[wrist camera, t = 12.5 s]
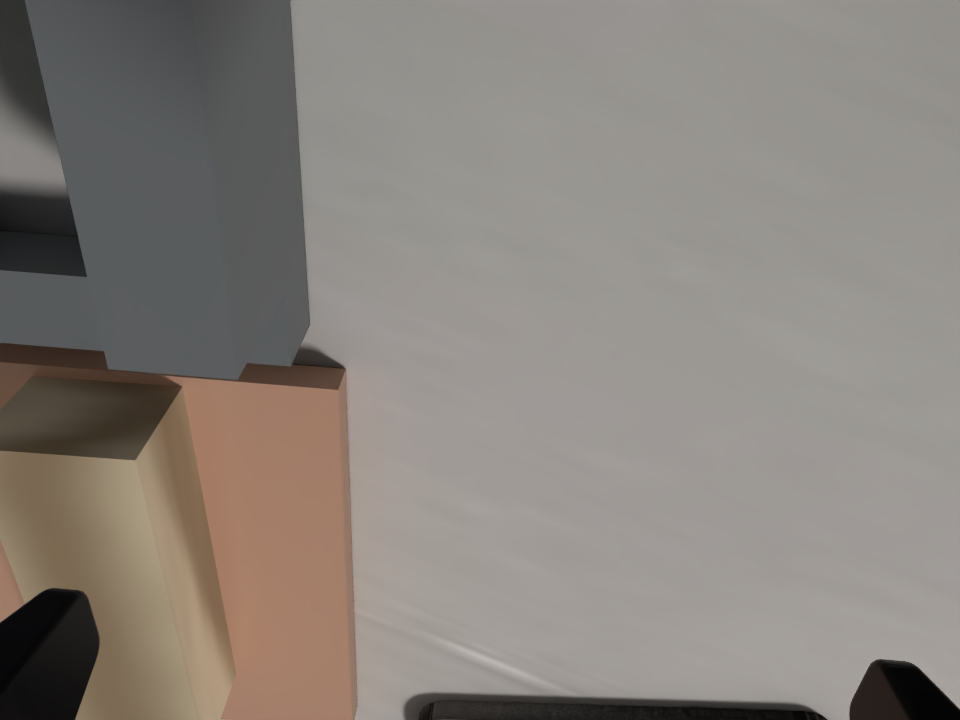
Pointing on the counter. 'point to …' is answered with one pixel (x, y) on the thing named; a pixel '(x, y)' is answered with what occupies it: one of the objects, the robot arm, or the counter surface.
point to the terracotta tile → (257, 522)
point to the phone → (595, 712)
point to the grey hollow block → (167, 189)
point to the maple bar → (119, 539)
